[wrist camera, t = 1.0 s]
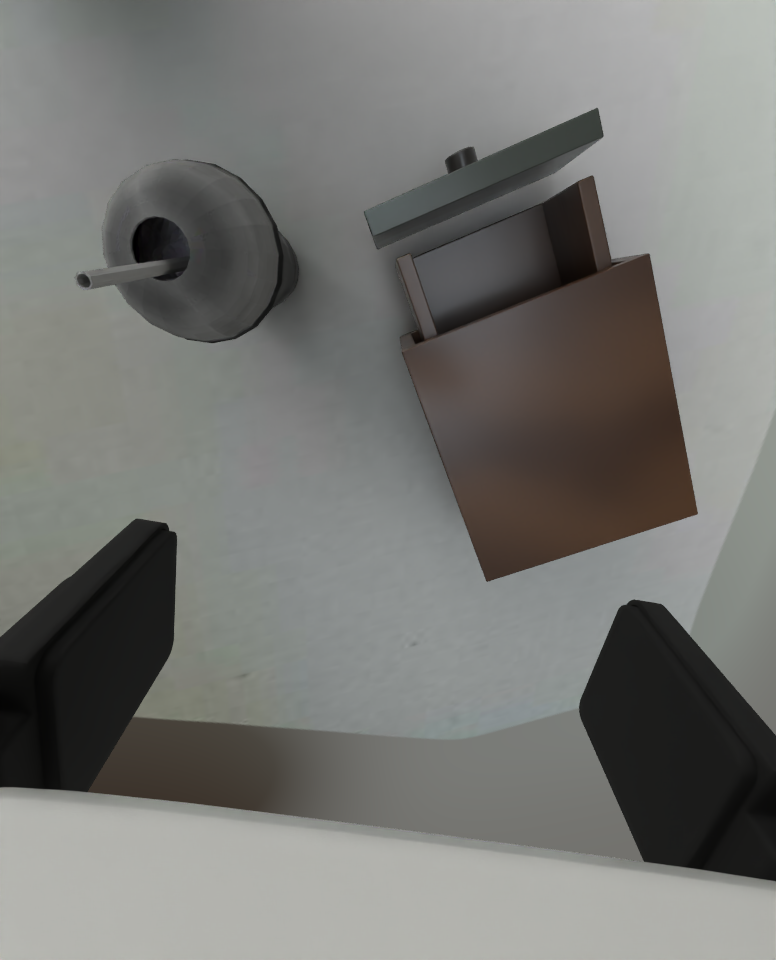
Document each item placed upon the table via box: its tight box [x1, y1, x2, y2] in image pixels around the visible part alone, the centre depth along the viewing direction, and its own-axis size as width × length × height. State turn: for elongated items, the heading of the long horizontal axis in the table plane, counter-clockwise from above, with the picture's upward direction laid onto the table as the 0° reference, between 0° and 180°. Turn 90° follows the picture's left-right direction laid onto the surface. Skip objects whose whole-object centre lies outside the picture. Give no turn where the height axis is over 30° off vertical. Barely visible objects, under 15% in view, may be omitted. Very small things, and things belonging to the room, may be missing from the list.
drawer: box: [364, 108, 612, 342], centre depth 28 cm, size 15×11×7 cm
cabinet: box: [400, 254, 698, 582], centre depth 31 cm, size 15×13×9 cm
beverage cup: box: [75, 159, 299, 343], centre depth 23 cm, size 7×7×20 cm
